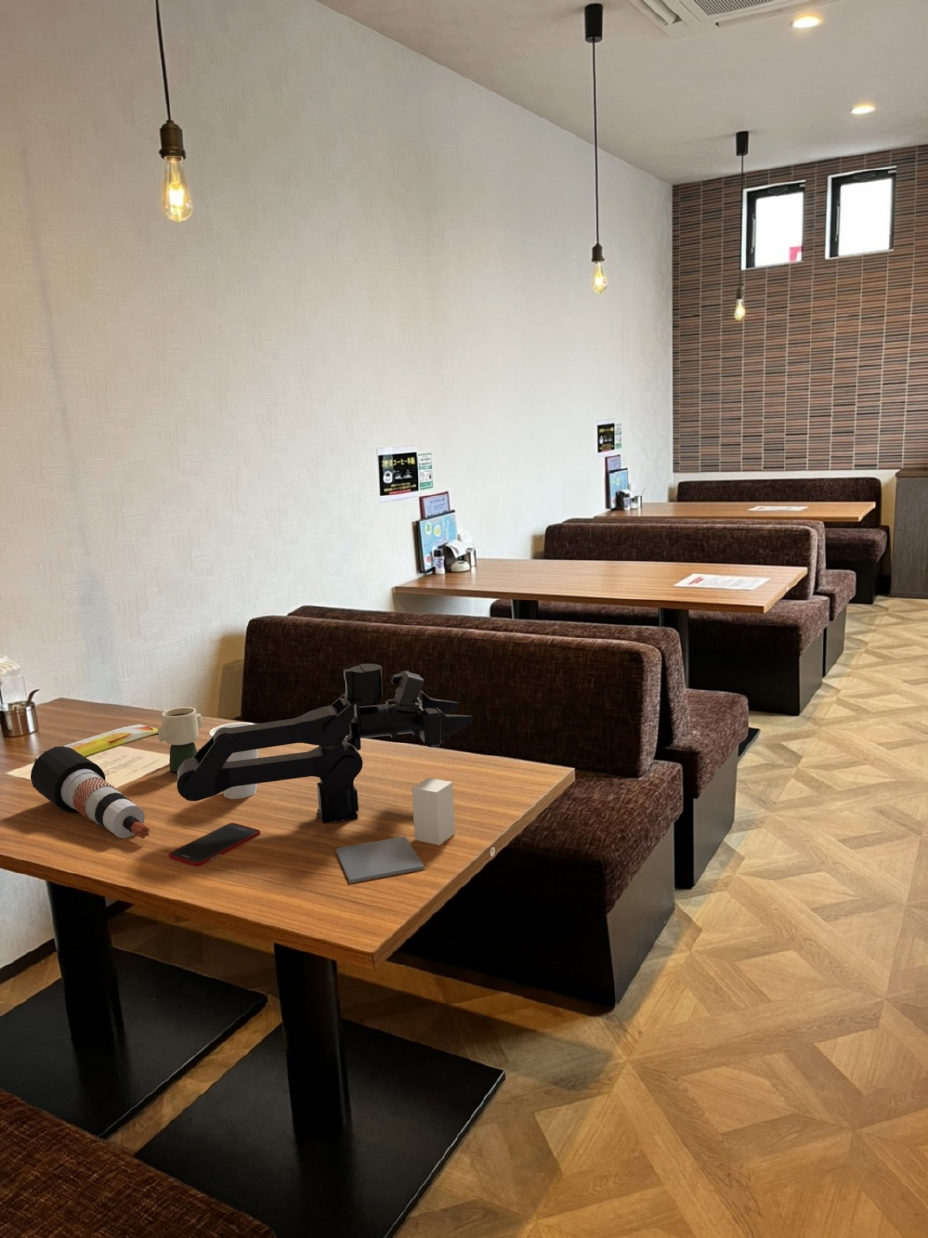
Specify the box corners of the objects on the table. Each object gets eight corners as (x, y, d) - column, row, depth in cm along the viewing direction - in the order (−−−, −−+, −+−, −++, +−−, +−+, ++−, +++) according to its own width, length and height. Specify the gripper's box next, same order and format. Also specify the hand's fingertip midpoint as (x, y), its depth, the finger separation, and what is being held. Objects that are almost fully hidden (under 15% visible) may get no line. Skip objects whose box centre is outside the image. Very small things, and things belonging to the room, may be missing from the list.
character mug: (195, 759, 205) (188, 702, 202) (216, 765, 200) (210, 707, 198) (153, 775, 196) (146, 716, 193) (174, 781, 192) (167, 721, 189)
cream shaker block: (414, 839, 160) (411, 787, 158) (430, 828, 164) (428, 777, 162) (439, 845, 157) (436, 792, 155) (455, 833, 161) (452, 782, 159)
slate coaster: (349, 883, 145) (349, 879, 145) (336, 851, 156) (335, 848, 156) (424, 869, 149) (424, 865, 149) (405, 839, 160) (405, 836, 160)
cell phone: (262, 835, 165) (262, 830, 165) (197, 869, 153) (197, 864, 153) (232, 826, 169) (231, 821, 169) (166, 859, 157) (166, 854, 157)
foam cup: (273, 791, 184) (268, 728, 182) (233, 805, 178) (227, 741, 175) (246, 780, 191) (240, 719, 188) (206, 794, 184) (199, 731, 182)
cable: (134, 872, 162) (105, 834, 157) (48, 805, 184) (20, 770, 179) (180, 831, 167) (153, 793, 162) (90, 771, 190) (64, 735, 184)
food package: (58, 760, 203) (33, 752, 209) (59, 770, 204) (35, 762, 210) (163, 725, 225) (139, 719, 231) (164, 734, 225) (140, 728, 231)
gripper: (392, 690, 160) (479, 682, 164) (372, 665, 178) (451, 658, 182) (394, 752, 162) (480, 742, 166) (374, 721, 180) (452, 713, 184)
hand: (465, 711), depth 175 cm, fingers open, 9 cm apart
